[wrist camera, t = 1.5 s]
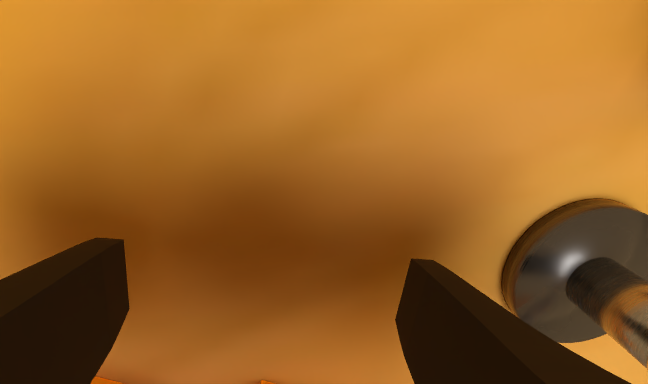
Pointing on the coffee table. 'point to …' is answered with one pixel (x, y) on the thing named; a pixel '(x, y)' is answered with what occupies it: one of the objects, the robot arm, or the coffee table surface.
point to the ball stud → (584, 275)
